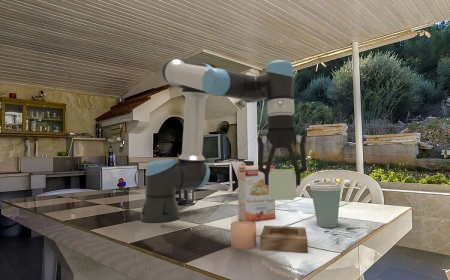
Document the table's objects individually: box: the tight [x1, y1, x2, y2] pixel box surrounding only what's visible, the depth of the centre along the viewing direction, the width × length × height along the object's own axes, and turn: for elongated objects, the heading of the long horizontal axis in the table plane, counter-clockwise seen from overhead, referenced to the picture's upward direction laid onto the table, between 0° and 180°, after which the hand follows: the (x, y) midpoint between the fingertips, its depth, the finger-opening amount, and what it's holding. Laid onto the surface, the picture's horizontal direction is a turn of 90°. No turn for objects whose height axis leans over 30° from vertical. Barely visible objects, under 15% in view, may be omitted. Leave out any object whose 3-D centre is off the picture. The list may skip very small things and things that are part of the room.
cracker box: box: [237, 165, 276, 222], centre depth 112 cm, size 14×6×21 cm, turn 117°
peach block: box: [230, 220, 257, 250], centre depth 80 cm, size 7×7×6 cm
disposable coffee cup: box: [309, 181, 342, 228], centre depth 102 cm, size 11×11×15 cm
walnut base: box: [259, 225, 309, 254], centre depth 80 cm, size 12×12×4 cm
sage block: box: [271, 168, 295, 201], centre depth 81 cm, size 6×6×8 cm
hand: (282, 197), depth 81 cm, fingers closed on sage block, 6 cm apart
